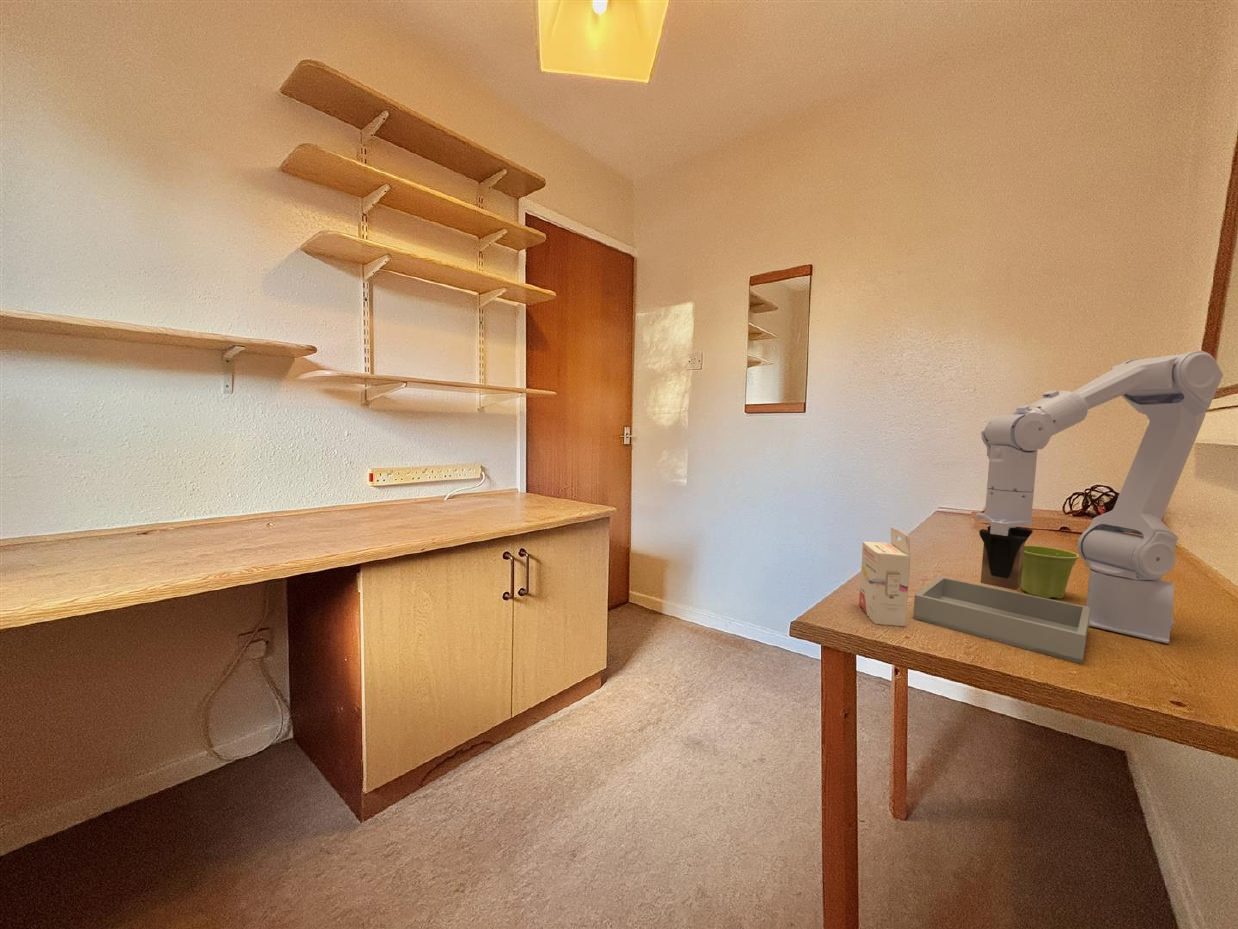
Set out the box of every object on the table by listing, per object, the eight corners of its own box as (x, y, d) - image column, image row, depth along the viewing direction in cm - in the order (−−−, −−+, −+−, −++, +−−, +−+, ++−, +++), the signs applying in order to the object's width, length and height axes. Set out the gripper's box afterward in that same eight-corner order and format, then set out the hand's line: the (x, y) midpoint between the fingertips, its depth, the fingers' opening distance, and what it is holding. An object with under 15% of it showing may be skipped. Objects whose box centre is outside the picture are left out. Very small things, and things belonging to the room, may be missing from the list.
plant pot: (1070, 606, 85) (1075, 560, 84) (1005, 592, 92) (1009, 549, 92) (1078, 596, 91) (1083, 552, 90) (1016, 583, 98) (1020, 542, 97)
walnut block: (1020, 584, 75) (1024, 541, 74) (1016, 590, 72) (1020, 545, 71) (985, 577, 78) (989, 536, 78) (980, 583, 75) (984, 540, 75)
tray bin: (1087, 632, 73) (1090, 607, 73) (1082, 664, 63) (1085, 635, 62) (938, 597, 88) (940, 576, 88) (913, 618, 77) (914, 595, 77)
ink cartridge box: (856, 605, 83) (862, 523, 82) (887, 608, 82) (892, 525, 81) (873, 624, 74) (879, 534, 73) (907, 627, 73) (913, 536, 72)
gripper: (986, 484, 82) (980, 560, 83) (968, 490, 72) (961, 576, 73) (1040, 489, 76) (1033, 569, 77) (1029, 495, 67) (1021, 588, 68)
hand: (1002, 573), depth 75 cm, fingers closed on walnut block, 4 cm apart
